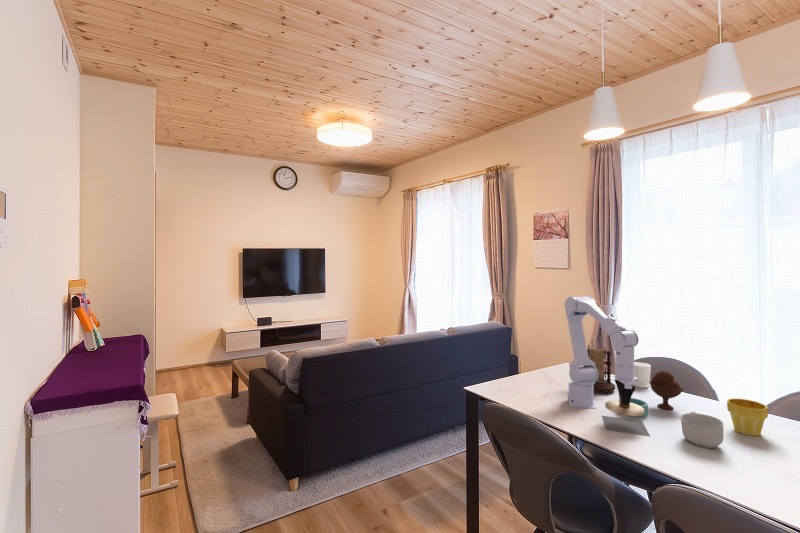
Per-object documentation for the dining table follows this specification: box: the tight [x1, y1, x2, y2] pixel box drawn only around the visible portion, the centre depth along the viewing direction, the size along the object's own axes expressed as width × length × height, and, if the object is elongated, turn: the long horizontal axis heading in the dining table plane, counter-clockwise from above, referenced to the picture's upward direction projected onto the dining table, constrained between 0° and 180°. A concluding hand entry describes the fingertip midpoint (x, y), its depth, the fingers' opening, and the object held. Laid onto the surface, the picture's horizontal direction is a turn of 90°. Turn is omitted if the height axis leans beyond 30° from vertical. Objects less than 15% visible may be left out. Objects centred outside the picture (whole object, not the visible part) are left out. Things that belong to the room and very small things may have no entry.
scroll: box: [583, 344, 616, 395], centre depth 175 cm, size 15×15×20 cm
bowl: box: [626, 397, 649, 419], centre depth 147 cm, size 9×9×4 cm
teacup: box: [680, 411, 725, 449], centre depth 124 cm, size 14×11×8 cm
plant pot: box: [726, 398, 769, 437], centre depth 131 cm, size 10×10×10 cm
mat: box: [601, 415, 651, 437], centre depth 136 cm, size 13×13×1 cm
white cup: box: [632, 361, 652, 389], centre depth 179 cm, size 8×8×10 cm
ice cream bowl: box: [649, 370, 684, 412], centre depth 152 cm, size 11×11×15 cm
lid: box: [604, 393, 644, 417], centre depth 136 cm, size 12×12×5 cm
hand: (624, 402), depth 136 cm, fingers closed on lid, 3 cm apart
